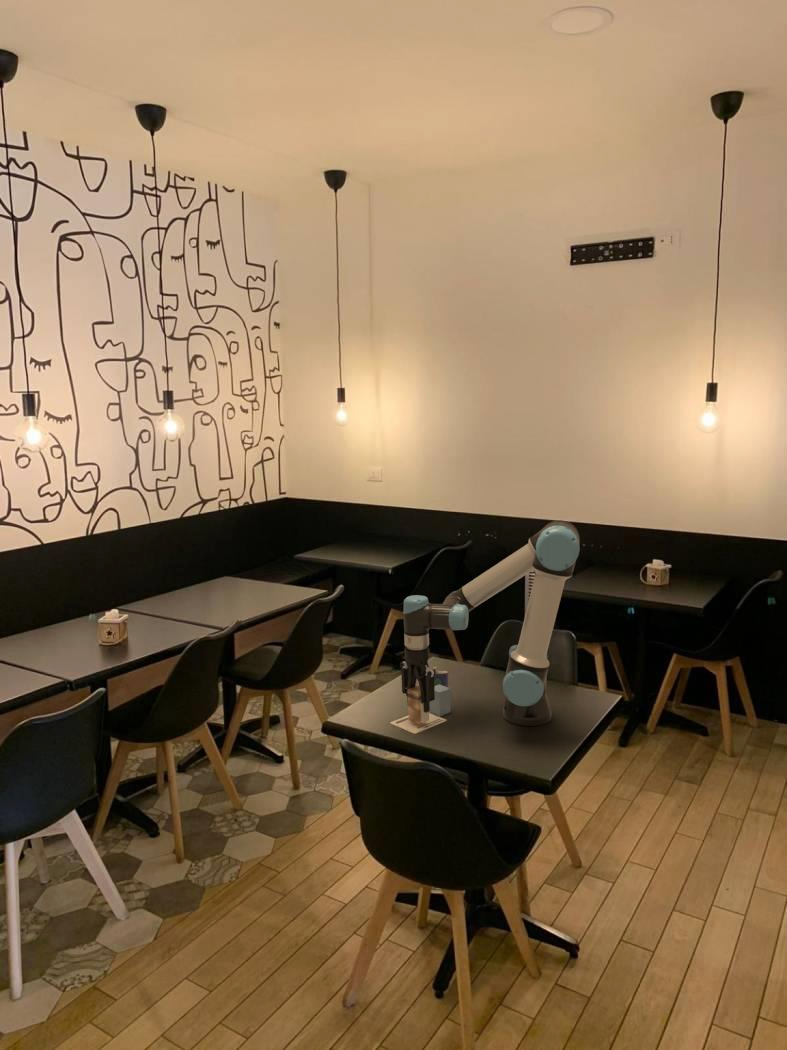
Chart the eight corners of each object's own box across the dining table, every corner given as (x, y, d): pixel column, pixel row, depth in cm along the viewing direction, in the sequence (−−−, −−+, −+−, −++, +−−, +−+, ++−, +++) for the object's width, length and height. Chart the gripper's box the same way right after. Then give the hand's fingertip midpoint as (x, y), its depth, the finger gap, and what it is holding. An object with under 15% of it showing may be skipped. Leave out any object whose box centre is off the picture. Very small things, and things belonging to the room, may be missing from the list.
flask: (448, 695, 268) (448, 665, 266) (448, 698, 265) (448, 668, 263) (421, 695, 268) (420, 665, 267) (420, 698, 265) (420, 668, 264)
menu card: (446, 720, 247) (446, 719, 247) (414, 734, 238) (414, 733, 238) (421, 711, 255) (421, 710, 255) (390, 723, 246) (390, 722, 246)
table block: (429, 719, 244) (428, 689, 243) (418, 724, 241) (417, 693, 240) (418, 716, 247) (418, 685, 246) (408, 720, 244) (407, 689, 243)
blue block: (450, 712, 254) (450, 688, 253) (439, 716, 251) (439, 692, 249) (439, 707, 258) (439, 684, 256) (428, 712, 254) (428, 688, 253)
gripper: (388, 643, 244) (390, 714, 248) (428, 655, 232) (430, 730, 235) (405, 637, 249) (407, 708, 253) (446, 649, 237) (447, 723, 240)
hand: (418, 718), depth 244 cm, fingers closed on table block, 4 cm apart
